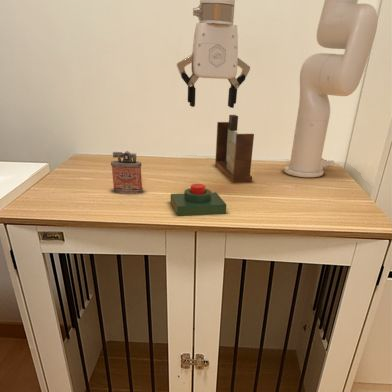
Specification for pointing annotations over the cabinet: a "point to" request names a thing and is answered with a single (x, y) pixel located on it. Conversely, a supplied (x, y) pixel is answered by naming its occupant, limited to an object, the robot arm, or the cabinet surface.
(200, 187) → the button
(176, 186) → the cabinet surface
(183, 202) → the alarm box
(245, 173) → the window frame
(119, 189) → the lighter
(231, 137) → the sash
